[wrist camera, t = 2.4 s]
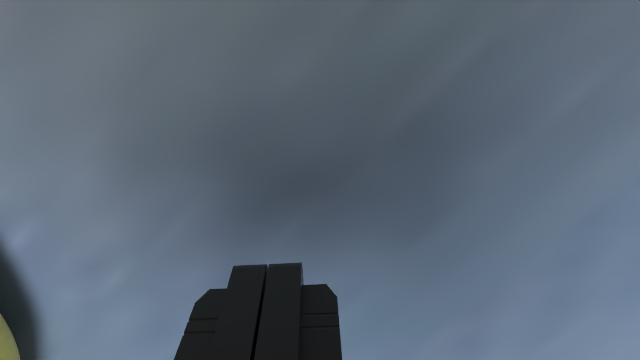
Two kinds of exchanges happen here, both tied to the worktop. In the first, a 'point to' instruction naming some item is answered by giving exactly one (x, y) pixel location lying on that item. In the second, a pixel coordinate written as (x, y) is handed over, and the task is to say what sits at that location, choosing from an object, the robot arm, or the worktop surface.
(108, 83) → the worktop surface
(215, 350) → the robot arm
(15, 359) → the banana
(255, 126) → the worktop surface
